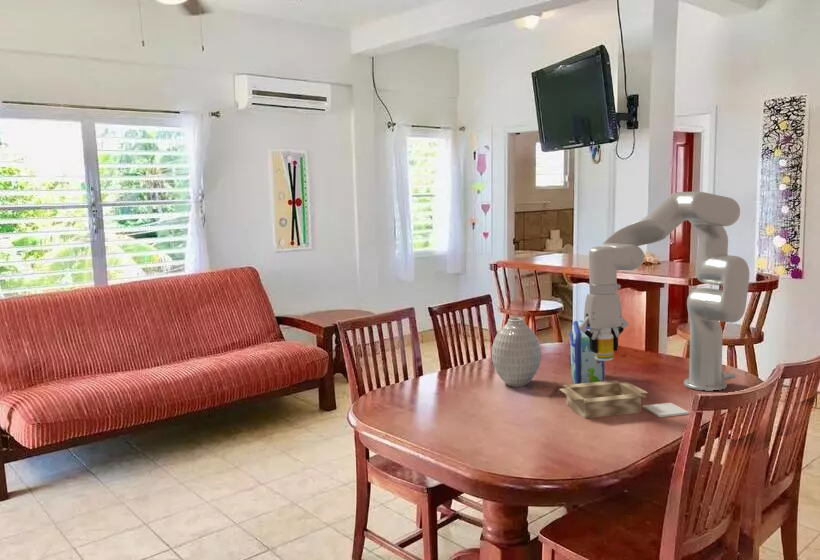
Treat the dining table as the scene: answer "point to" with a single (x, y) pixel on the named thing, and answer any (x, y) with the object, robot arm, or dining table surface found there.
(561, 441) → the dining table surface
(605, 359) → the supplement bottle
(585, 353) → the lunch box
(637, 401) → the carton
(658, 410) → the coaster
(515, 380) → the vase
